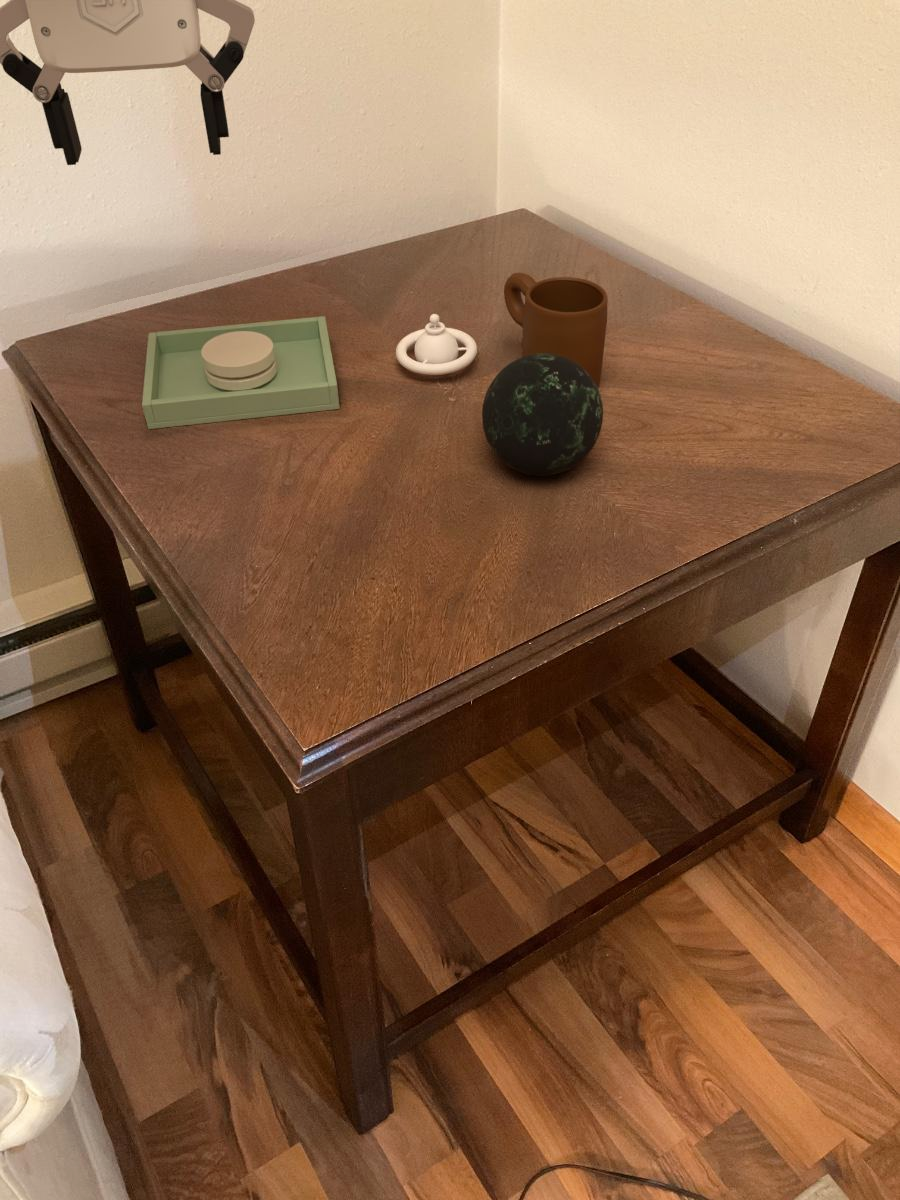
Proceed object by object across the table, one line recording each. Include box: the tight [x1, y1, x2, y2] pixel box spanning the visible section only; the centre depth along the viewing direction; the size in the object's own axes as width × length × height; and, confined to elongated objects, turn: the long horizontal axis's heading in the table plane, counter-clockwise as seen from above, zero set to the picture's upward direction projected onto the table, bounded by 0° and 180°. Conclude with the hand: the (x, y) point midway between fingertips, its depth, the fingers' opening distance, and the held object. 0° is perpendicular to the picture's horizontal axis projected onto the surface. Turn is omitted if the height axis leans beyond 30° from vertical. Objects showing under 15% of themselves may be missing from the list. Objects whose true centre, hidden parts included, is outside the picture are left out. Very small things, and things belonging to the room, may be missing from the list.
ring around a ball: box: [395, 313, 478, 376], centre depth 96 cm, size 8×6×8 cm
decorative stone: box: [481, 353, 604, 477], centre depth 82 cm, size 10×10×10 cm
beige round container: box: [201, 331, 277, 391], centre depth 95 cm, size 7×7×3 cm
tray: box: [141, 315, 341, 430], centre depth 95 cm, size 18×14×3 cm
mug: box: [503, 272, 609, 389], centre depth 93 cm, size 12×8×9 cm, turn 38°
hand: (145, 153), depth 69 cm, fingers open, 9 cm apart
